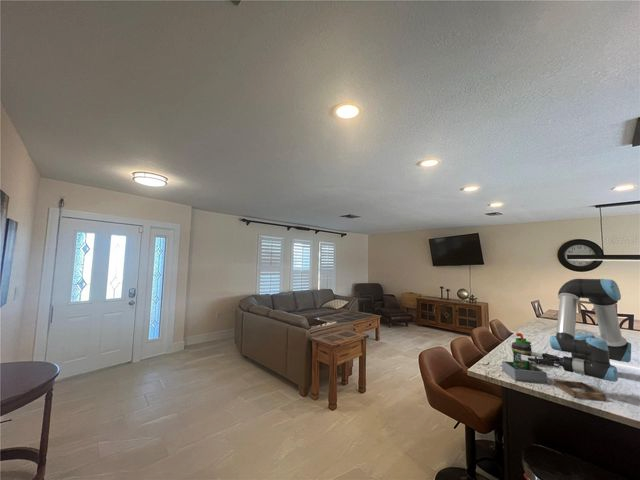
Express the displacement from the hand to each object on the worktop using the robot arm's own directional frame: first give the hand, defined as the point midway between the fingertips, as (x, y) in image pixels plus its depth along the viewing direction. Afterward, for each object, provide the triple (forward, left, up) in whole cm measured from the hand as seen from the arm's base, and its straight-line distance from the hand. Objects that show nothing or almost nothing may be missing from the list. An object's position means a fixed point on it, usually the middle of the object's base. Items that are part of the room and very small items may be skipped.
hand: (524, 354), depth 154 cm
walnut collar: (-16, +16, -13) cm, 26 cm away
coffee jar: (+1, -1, -12) cm, 12 cm away
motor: (-14, -30, -13) cm, 36 cm away
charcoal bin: (+1, -1, -13) cm, 13 cm away
